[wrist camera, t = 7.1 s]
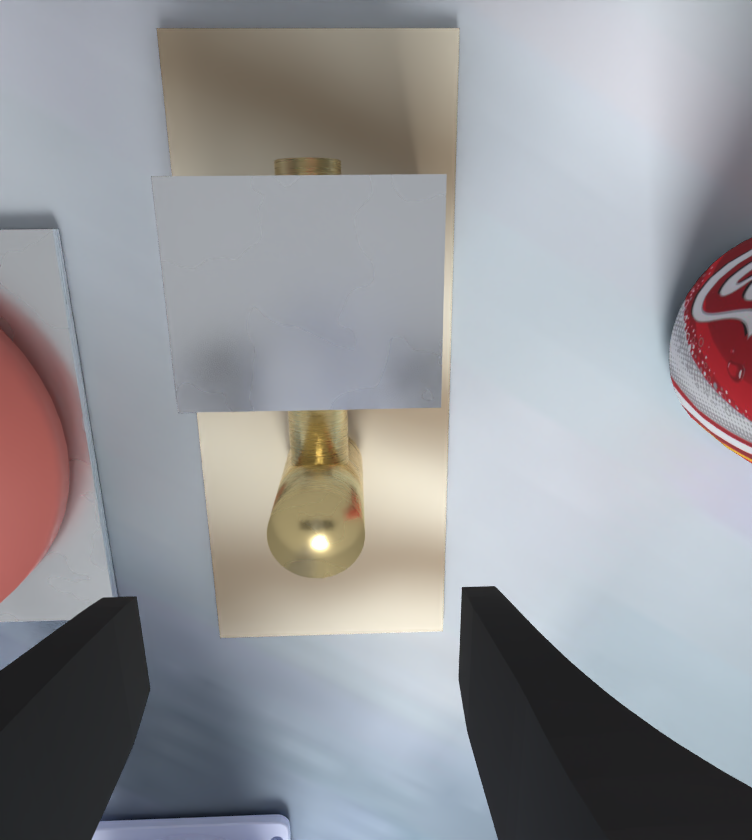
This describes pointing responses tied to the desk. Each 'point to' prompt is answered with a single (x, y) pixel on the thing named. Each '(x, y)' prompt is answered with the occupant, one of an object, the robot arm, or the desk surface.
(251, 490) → the birch base board
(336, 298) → the block
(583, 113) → the desk surface
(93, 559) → the wheel plate
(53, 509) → the handwheel
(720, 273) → the soda can
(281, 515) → the hook rod
